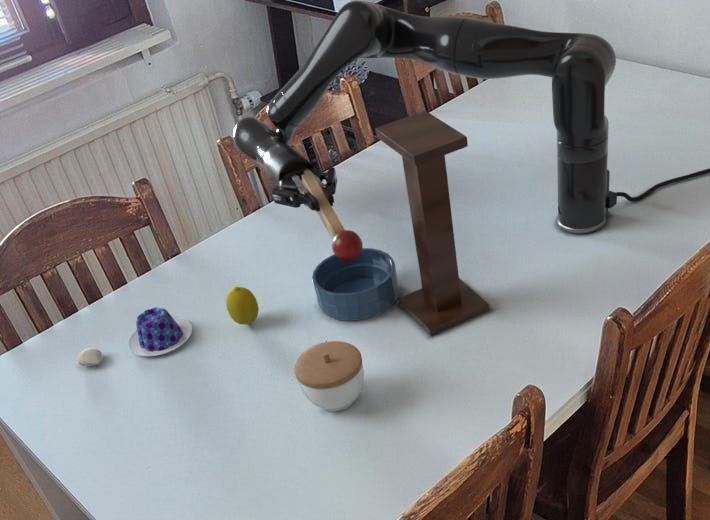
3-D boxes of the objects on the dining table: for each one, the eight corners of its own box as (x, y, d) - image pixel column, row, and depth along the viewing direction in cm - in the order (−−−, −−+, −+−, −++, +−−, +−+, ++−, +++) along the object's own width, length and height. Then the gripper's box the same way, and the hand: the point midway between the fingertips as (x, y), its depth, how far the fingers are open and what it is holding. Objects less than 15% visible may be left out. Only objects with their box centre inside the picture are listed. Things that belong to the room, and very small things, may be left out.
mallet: (367, 261, 147) (368, 244, 142) (340, 271, 145) (341, 255, 140) (320, 178, 150) (320, 159, 145) (293, 188, 149) (292, 169, 144)
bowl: (363, 266, 159) (358, 239, 155) (416, 293, 151) (411, 264, 146) (303, 303, 153) (295, 276, 149) (354, 333, 145) (348, 305, 140)
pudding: (206, 333, 150) (196, 309, 146) (153, 367, 145) (141, 344, 141) (169, 312, 157) (160, 289, 153) (117, 344, 151) (105, 321, 147)
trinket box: (305, 383, 136) (291, 338, 130) (368, 373, 136) (358, 327, 129) (304, 426, 129) (290, 380, 122) (371, 415, 129) (360, 369, 122)
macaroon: (96, 352, 150) (90, 342, 148) (112, 361, 148) (106, 350, 146) (77, 365, 148) (71, 354, 146) (92, 374, 146) (86, 363, 144)
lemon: (257, 333, 148) (245, 296, 142) (229, 333, 149) (216, 296, 144) (267, 315, 152) (255, 278, 146) (240, 315, 153) (227, 278, 147)
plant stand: (398, 303, 149) (366, 131, 126) (454, 280, 152) (433, 107, 129) (432, 338, 141) (405, 159, 118) (490, 312, 144) (475, 133, 121)
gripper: (249, 162, 152) (283, 197, 141) (316, 139, 156) (354, 171, 144) (260, 199, 157) (294, 236, 146) (325, 176, 161) (362, 210, 150)
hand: (324, 203), depth 145 cm, fingers closed on mallet
